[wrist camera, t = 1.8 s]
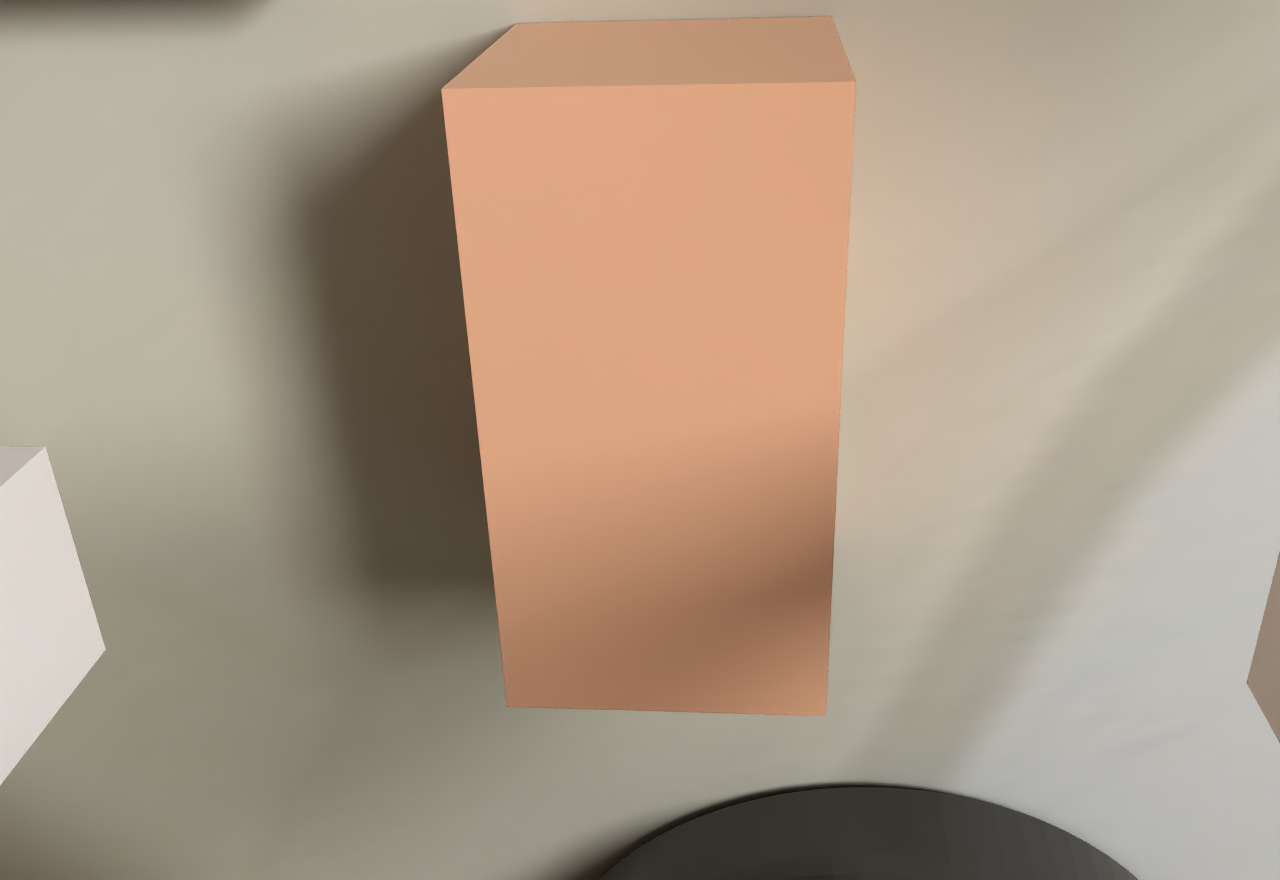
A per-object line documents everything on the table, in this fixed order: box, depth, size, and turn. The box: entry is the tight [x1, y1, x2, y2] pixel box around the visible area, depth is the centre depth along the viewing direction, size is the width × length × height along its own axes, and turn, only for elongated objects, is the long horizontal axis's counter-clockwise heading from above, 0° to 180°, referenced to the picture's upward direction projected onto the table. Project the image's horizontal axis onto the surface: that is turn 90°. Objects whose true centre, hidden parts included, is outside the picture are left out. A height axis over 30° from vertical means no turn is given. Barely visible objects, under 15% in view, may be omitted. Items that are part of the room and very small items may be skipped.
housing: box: [441, 16, 856, 716], centre depth 18 cm, size 9×5×5 cm, turn 2°
